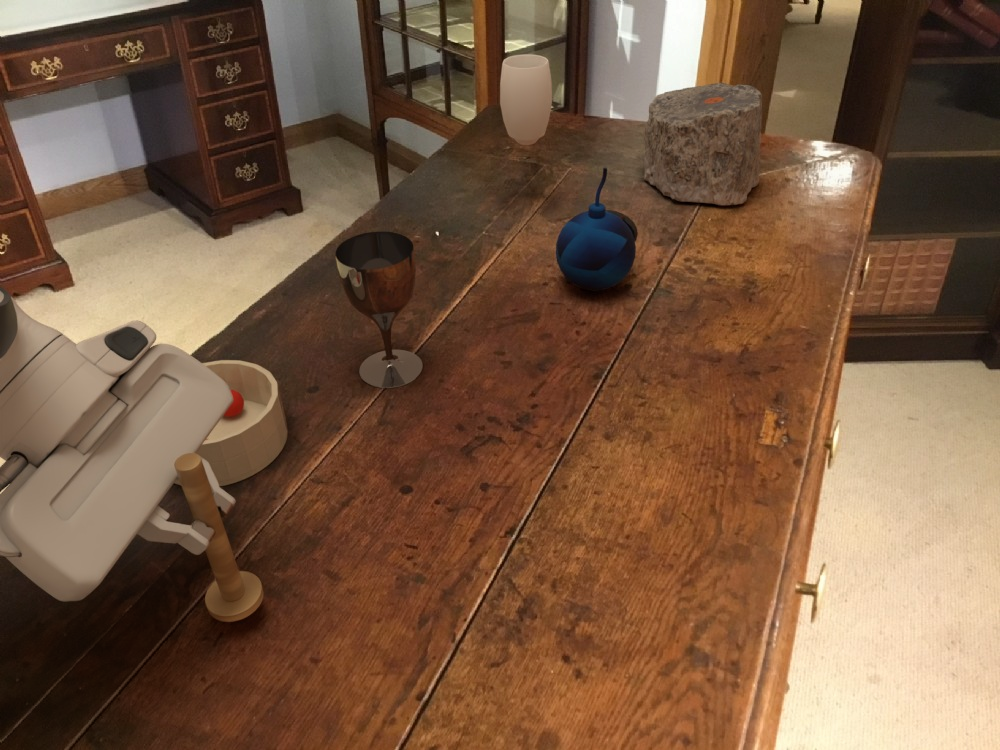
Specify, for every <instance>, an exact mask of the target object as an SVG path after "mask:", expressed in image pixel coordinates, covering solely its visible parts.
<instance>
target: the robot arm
mask: <svg viewBox="0 0 1000 750" xmlns="http://www.w3.org/2000/svg"><path fill="white" fill-rule="evenodd" d="M156 340H157V333H156V332H155V331H154V330H153V328H152V327H150V326H149V325H147V324H146V323H145V322H144V321H141V320H139V319H138V320H132V321H129V322H126V323H124V324H122V325H119V326H117V327H115V328H112V329H110V330H108V331H107V330H106V331H105V332H103V333H99V334H98V335H95V336H92V337H89V338H87V339H83V340H81V341H79V342H77V343H76V342H74V341H73V340H72V339H70V338H69V337H68V336H67V335H65V334H64V333H63V332H61V331H60V330H58V329H57V328H54V327H51V326H49V325H47V324H44V323H41V322H39V321H37V320H36V319H34V318H32V317H31V316H30V315H29V314H27V312H25V311H24V310H23V309H22V308H21V307H20V306H19V304H18V302H16V300H15V299H14V298H13V296H11V294H10V293H9V292H8V291H7V290H6V289H5V288H4V287H3V286H1V285H0V458H1V459H2V460H3V461H4V462H3V463H2V464H1V466H0V557H5V558H6V559H7V561H9V562H10V563H11V564H12V565H13V566H14V567H15V568H17V569H18V570H19V571H20V572H21V574H23V575H24V576H25V577H27V578H28V579H29V580H30V581H31V582H33V584H35V585H36V586H37V587H39V588H40V589H41V590H43V591H44V592H46V593H47V594H48V595H50V596H51V597H53V598H54V599H56V600H57V601H60V602H79V601H82V600H84V599H85V598H86V597H88V596H89V595H90V594H91V593H92V592H93V591H95V589H97V588H98V587H99V586H100V585H101V583H102V582H103V581H104V579H105V578H106V577H107V576H108V574H109V572H110V571H111V570H112V568H113V567H114V565H115V564H116V563H117V562H118V560H119V559H120V558H121V556H122V555H123V553H124V552H125V550H127V548H128V547H129V545H130V544H131V543H132V541H133V540H134V538H135V537H136V535H138V536H140V537H141V538H143V539H144V540H145V541H147V542H155V543H164V544H165V543H167V544H178V545H180V546H181V547H183V548H184V549H185V550H187V551H188V552H190V553H191V554H193V555H195V556H199V555H201V554H202V553H204V552H205V550H206V549H207V547H208V546H209V544H210V542H211V541H212V539H213V537H214V536H215V534H216V532H215V530H214V529H212V528H211V527H207V526H206V523H204V522H203V521H201V520H200V519H197V520H195V521H194V520H193V522H192V523H191V524H184V523H178V522H172V521H167V520H169V518H170V516H171V515H170V513H169V512H167V511H166V510H165V509H164V508H162V507H161V506H159V504H160V503H161V501H162V500H163V499H164V498H165V496H166V494H167V493H168V492H169V490H170V489H171V488H172V486H173V485H174V484H175V483H174V482H175V481H176V479H177V480H178V481H180V480H179V478H178V475H177V472H176V469H175V467H174V463H175V461H176V459H177V458H179V457H180V456H182V455H184V454H187V453H196V452H197V451H198V449H199V448H200V447H201V445H202V444H203V443H204V441H205V440H206V438H207V437H208V436H209V434H210V433H211V432H212V430H213V429H214V427H215V426H216V425H217V423H218V422H219V421H220V419H221V418H222V417H223V415H224V414H225V412H226V411H227V410H228V408H229V407H230V406H231V404H232V403H233V401H234V399H233V396H232V393H231V391H230V388H229V386H228V384H227V383H226V382H225V381H224V380H223V379H221V378H220V377H219V376H218V375H217V374H215V373H214V372H213V371H212V370H210V369H209V368H208V367H206V366H205V365H204V364H202V363H203V362H202V361H199V360H198V359H196V358H195V357H193V356H192V355H191V354H190V353H188V352H187V351H185V350H183V349H182V348H180V347H177V346H175V345H172V344H170V343H157V344H155V345H154V343H156ZM196 454H197V453H196ZM200 457H201V456H200ZM201 459H202V462H203V465H204V468H205V471H206V474H207V477H208V480H209V483H210V486H211V489H212V492H213V495H214V498H215V501H216V504H217V507H218V510H219V513H220V516H221V519H222V521H223V520H224V519H226V518H227V517H228V516H229V514H230V513H231V511H232V509H233V508H234V506H235V505H236V502H237V501H236V498H235V497H233V496H232V495H231V494H230V493H228V492H226V491H225V490H224V489H223V488H222V487H221V486H220V485H219V483H218V481H217V479H216V477H215V475H214V473H213V471H212V469H211V467H210V465H209V462H207V461H206V460H205V459H203V458H202V457H201ZM219 486H220V487H219Z"/></svg>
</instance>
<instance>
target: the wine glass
mask: <svg viewBox="0 0 1000 750" xmlns="http://www.w3.org/2000/svg"><path fill="white" fill-rule="evenodd" d="M335 263H336V269H337V272H338V278H339V280H340V283H341V286H342V289H343V291H344V294H345V296H346V299H347V300H348V301H349V303H350V305H351V306H352V307H353V308H354V309H355V310H357V312H359V313H361V314H362V315H364V316H365V317H366V318H368V319H370V320H371V321H373V323H375V324H376V326H377V327H378V329H379V332H380V335H381V338H382V343H383V346H384V350H382V351H379V352H376V353H374V354H372V355H370V356H368V357H367V358H365V360H363V362H361V364H360V365H359V369H358V373H359V377H360V379H361V380H362V381H363V382H364V383H365V384H367V385H369V386H372V387H375V388H381V389H393V388H399V387H402V386H403V387H404V386H405V385H408V384H410V383H412V382H413V381H415V380H416V379H418V377H419V376H420V375H422V372H423V369H424V363H423V361H422V359H421V357H420V356H418V355H417V354H416V353H414V352H412V351H408V350H406V349H405V350H404V349H393V346H392V345H393V344H392V329H393V328H392V327H393V325H394V322H395V320H396V318H397V317H398V315H400V313H401V312H402V311H403V310H404V309H405V308H406V307H407V305H408V304H409V302H410V301H411V299H412V297H413V294H414V289H415V284H416V270H417V269H416V254H415V246H414V243H413V242H412V240H411V239H410V238H409V237H407V236H406V235H403V234H401V233H398V232H392V231H369V232H363V233H360V234H357V235H356V234H355V235H354V236H351V237H349V238H347V239H345V240H344V241H342V242H341V243H340V244H339V245H338V247H336V250H335Z"/></svg>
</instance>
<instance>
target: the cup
mask: <svg viewBox="0 0 1000 750" xmlns="http://www.w3.org/2000/svg"><path fill="white" fill-rule="evenodd" d="M550 68H551V67H550V61H549V59H548V58H547V57H545V56H542V55H538V54H531V53H530V54H527V53H526V54H515V55H511V56H507V57H506V58H504V59H503V61H502V64H501V72H500V82H499V84H500V85H499V105H500V110H501V115H502V121H503V124H504V127H505V129H506V133H507V135H508V136H509V137H510V138H512V139H513V140H515V141H516V143H517V144H519V145H523V146H530V145H533V144H537V141H539V139H541V138H543V137H544V136H545V135H546V131H547V129H548V128H547V127H548V125H549V122H550V118H551V111H552V106H553V84H552V76H551V75H552V74H551V69H550Z"/></svg>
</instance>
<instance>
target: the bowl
mask: <svg viewBox="0 0 1000 750" xmlns="http://www.w3.org/2000/svg"><path fill="white" fill-rule="evenodd" d="M201 363H202V364H204V365H205V366H206V367H208V368H209V369H210V370H212V371H213V372H214V373H215V374H217V375H218V376H219V377H220V378H221V379H223V380H224V381H225V382H226V383H227V384H228V386H229V388H230V390H234V391H237V392H238V393H240V394H241V396H242V397H243V400H244V407H243V409H242V411H241V412H240V413H239V414H238V415H236V416H233V417H226V416H223V417H222V418H221V419H220V421H219V422H218V423H217V425H216V426H215V427H214V429H213V430H212V432H211V433H210V434H209V436H208V437H207V438H206V439H208V440H205V441H204V443H203V444H202V445H201V447H200V448H199V449H198V451H197V452H196V453H197V454H198V455H199V456H201V457H202V458H203V459H205V460H206V461H207V462H209V465H210V467H211V469H212V471H213V473H214V475H215V477H216V479H217V481H218V483H219V485H220V486H219V487H220V488H221V487H225V486H229V485H233V484H235V483H238V482H241V481H244V480H246V479H248V478H250V477H252V476H254V475H256V474H257V473H259V472H261V471H263V470H264V469H265V468H266V467H268V466H269V465H270V464H271V463H273V462H274V461H275V460H276V459H277V458H278V456H279V455H280V454H281V452H282V451H283V449H284V447H285V445H286V443H287V440H288V435H289V434H288V433H289V431H288V429H289V428H288V424H287V423H288V422H287V416H286V412H285V408H284V404H283V401H282V400H283V399H282V397H281V392H280V388H279V384H278V381H277V380H276V378H275V377H274V375H273V373H272V372H271V371H269V370H267V369H266V368H264V367H263V366H261V365H259V364H257V363H254V362H253V363H252V362H248V361H244V360H239V359H238V360H237V359H220V360H214V361H213V360H212V361H208V362H201ZM174 484H175V485H178V486H181V483H180V481H178V480H177V479H176V481H175V482H174Z"/></svg>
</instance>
